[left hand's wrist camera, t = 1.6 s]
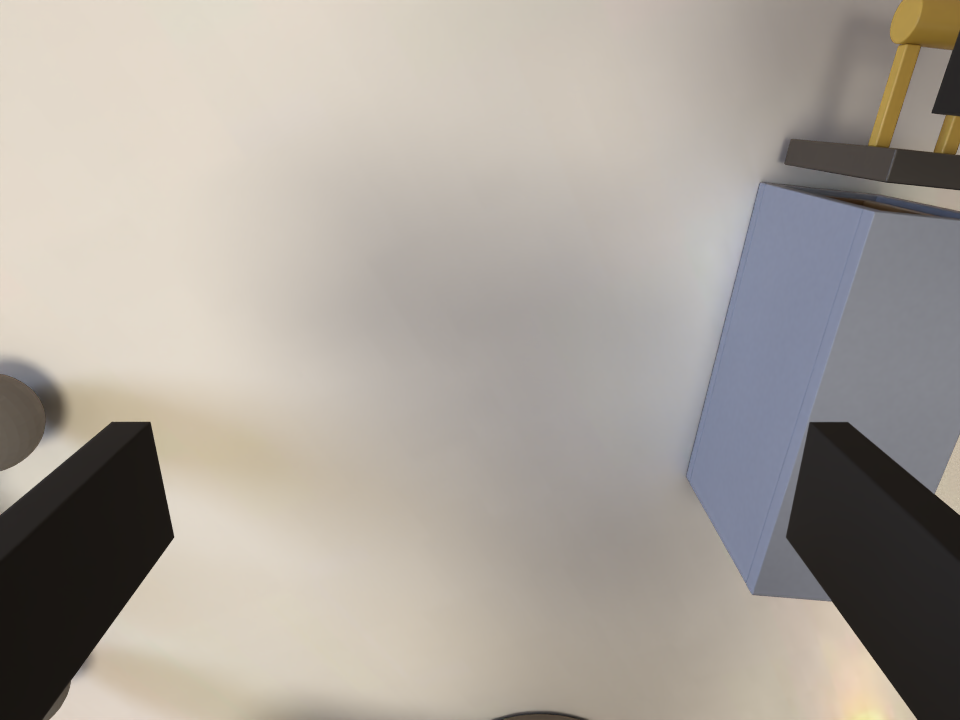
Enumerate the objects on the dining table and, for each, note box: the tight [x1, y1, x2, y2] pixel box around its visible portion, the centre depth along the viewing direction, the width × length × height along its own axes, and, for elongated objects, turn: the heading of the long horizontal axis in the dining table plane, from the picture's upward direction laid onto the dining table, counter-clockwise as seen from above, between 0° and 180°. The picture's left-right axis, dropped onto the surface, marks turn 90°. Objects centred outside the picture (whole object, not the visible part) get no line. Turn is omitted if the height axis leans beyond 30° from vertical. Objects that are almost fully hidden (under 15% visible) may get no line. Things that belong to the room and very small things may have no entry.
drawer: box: [785, 0, 960, 217], centre depth 29 cm, size 22×5×8 cm, turn 174°
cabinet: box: [686, 182, 960, 601], centre depth 31 cm, size 18×6×10 cm, turn 174°
